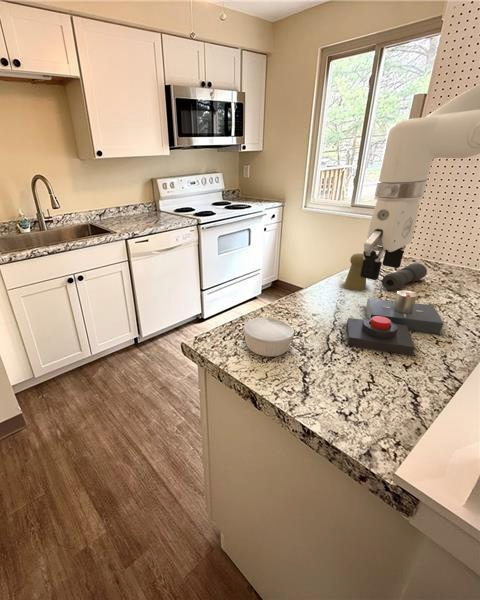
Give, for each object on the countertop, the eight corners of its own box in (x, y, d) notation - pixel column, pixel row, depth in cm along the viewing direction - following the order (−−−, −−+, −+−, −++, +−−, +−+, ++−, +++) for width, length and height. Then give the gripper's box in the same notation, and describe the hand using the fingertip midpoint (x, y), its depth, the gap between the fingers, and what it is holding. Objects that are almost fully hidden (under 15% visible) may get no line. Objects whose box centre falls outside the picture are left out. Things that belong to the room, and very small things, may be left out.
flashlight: (397, 293, 94) (401, 277, 91) (377, 288, 98) (381, 272, 96) (424, 280, 99) (429, 265, 97) (405, 276, 104) (409, 260, 102)
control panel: (429, 315, 81) (433, 304, 80) (439, 334, 74) (444, 322, 72) (365, 307, 88) (367, 297, 87) (368, 324, 80) (371, 313, 79)
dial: (391, 305, 82) (396, 288, 80) (410, 307, 80) (416, 290, 78) (393, 311, 79) (398, 294, 77) (414, 314, 77) (419, 296, 75)
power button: (388, 323, 73) (389, 317, 73) (390, 331, 70) (392, 324, 70) (369, 321, 75) (371, 314, 74) (371, 328, 72) (372, 322, 71)
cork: (342, 282, 104) (348, 251, 99) (363, 283, 102) (370, 251, 97) (345, 290, 99) (351, 257, 94) (367, 291, 97) (375, 257, 92)
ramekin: (299, 343, 75) (301, 325, 73) (279, 366, 69) (282, 346, 66) (255, 330, 83) (257, 312, 81) (234, 349, 76) (235, 330, 74)
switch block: (404, 333, 75) (408, 318, 74) (412, 355, 68) (417, 340, 66) (346, 324, 81) (349, 311, 79) (347, 345, 73) (350, 330, 71)
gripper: (401, 198, 54) (380, 288, 61) (441, 184, 61) (418, 265, 69) (355, 196, 60) (340, 278, 67) (397, 184, 67) (380, 259, 75)
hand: (380, 272), depth 68 cm, fingers open, 9 cm apart
